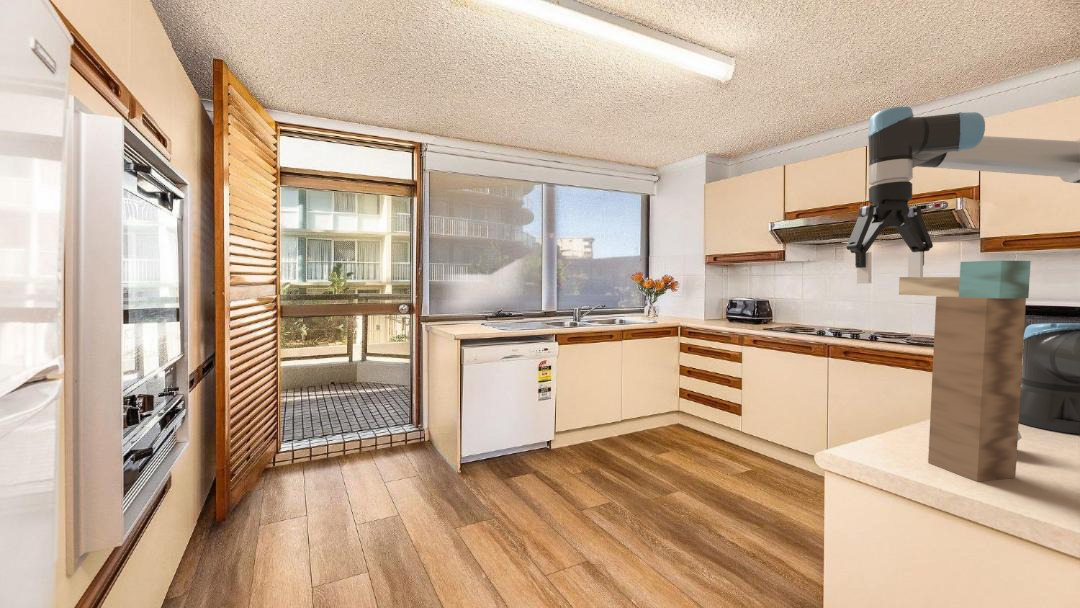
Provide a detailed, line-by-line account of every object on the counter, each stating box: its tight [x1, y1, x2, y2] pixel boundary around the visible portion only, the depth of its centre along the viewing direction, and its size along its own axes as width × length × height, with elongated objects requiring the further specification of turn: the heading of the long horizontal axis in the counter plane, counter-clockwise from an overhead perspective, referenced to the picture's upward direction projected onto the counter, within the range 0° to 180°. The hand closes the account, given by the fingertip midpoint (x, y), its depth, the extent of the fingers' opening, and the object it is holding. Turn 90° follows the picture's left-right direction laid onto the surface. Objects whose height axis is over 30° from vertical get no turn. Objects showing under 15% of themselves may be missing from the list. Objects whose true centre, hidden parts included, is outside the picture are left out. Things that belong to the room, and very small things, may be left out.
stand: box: [927, 296, 1027, 482], centre depth 81 cm, size 8×8×30 cm
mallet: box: [898, 260, 1032, 299], centre depth 84 cm, size 6×18×6 cm, turn 12°
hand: (890, 282), depth 102 cm, fingers open, 13 cm apart
